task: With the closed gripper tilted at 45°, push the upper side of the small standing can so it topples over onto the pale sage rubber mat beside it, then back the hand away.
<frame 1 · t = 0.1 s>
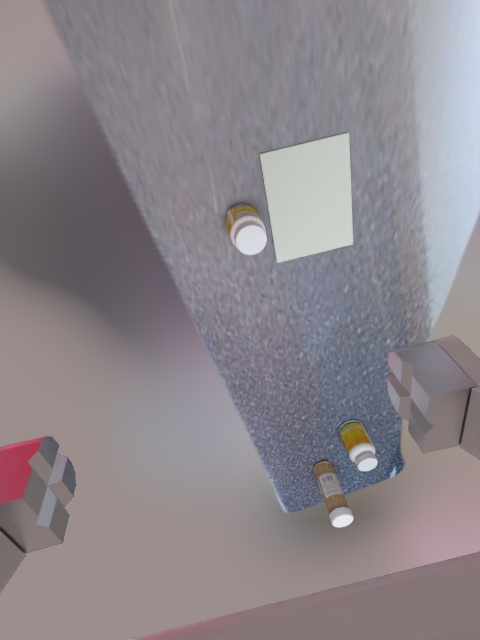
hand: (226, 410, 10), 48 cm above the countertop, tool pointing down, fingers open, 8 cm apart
sprinkles bottle: (321, 465, 92), on the countertop
supplement bottle: (241, 218, 57), on the countertop
supplement bottle 2: (349, 426, 86), on the countertop
rubber mat: (309, 201, 57), on the countertop
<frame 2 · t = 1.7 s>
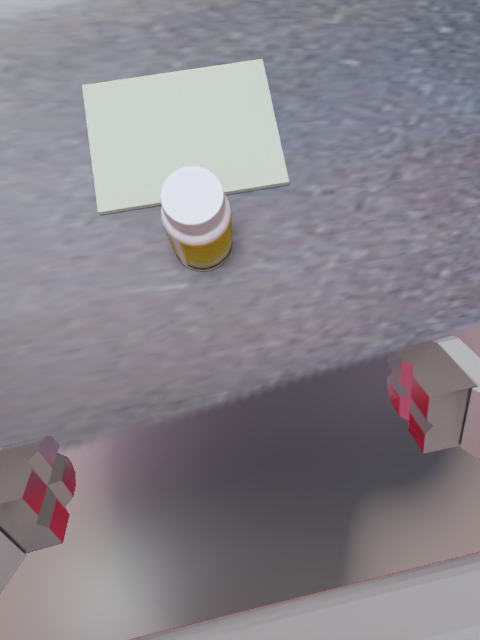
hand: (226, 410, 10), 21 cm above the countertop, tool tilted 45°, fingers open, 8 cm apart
supplement bottle: (203, 245, 33), on the countertop
rubber mat: (184, 136, 34), on the countertop
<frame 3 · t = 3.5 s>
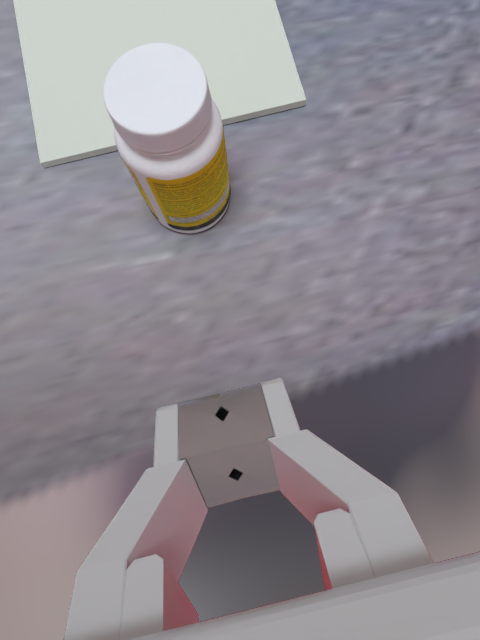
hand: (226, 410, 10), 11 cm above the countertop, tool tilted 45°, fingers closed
supplement bottle: (190, 198, 23), on the countertop
rubber mat: (155, 53, 25), on the countertop
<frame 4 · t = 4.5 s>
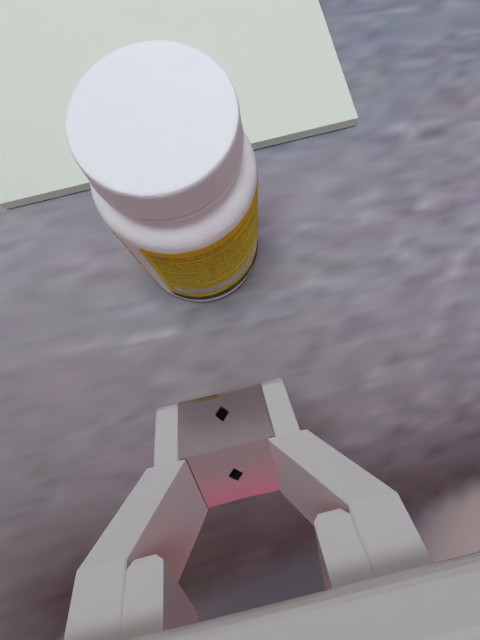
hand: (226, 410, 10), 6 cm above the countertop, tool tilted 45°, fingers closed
supplement bottle: (202, 251, 17), on the countertop
rubber mat: (155, 55, 19), on the countertop
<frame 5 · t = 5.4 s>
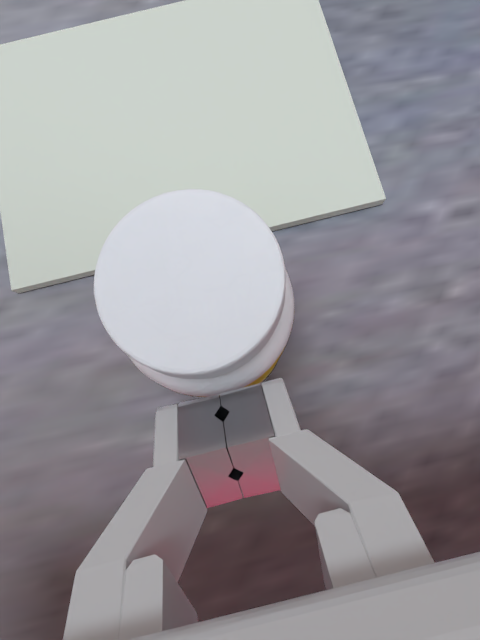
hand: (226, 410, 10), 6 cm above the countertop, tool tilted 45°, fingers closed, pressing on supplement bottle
supplement bottle: (222, 339, 16), on the countertop, touching gripper
rubber mat: (172, 127, 18), on the countertop
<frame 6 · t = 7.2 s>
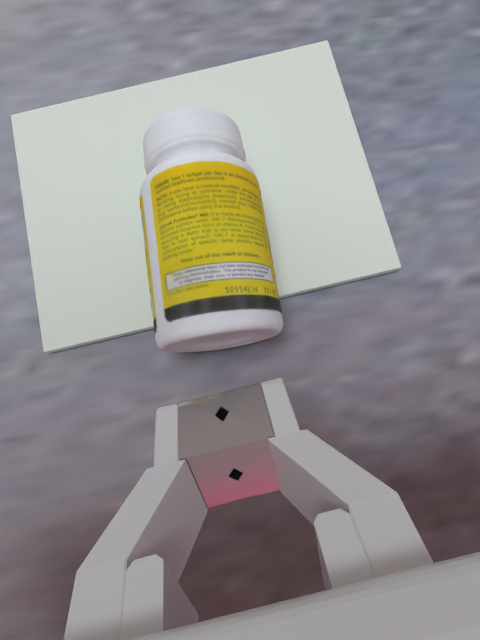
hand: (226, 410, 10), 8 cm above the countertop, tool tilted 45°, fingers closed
supplement bottle: (222, 348, 15), point 3 cm above the countertop, touching rubber mat
rubber mat: (195, 192, 19), on the countertop
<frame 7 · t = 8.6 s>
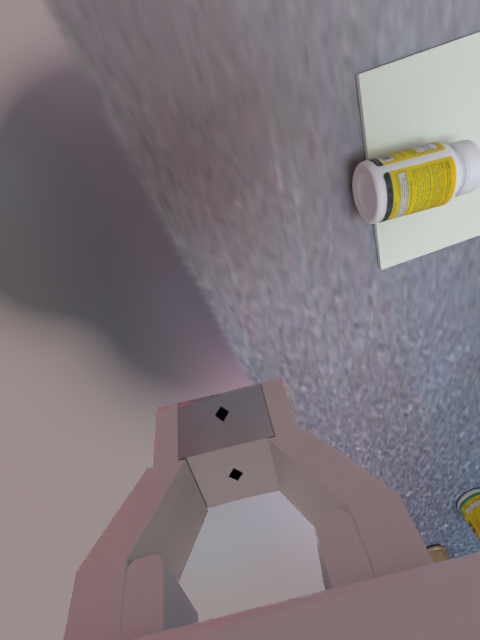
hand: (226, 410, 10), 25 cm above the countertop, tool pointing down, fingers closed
sprinkles bottle: (430, 551, 65), on the countertop
supplement bottle: (361, 194, 30), point 3 cm above the countertop, touching rubber mat
supplement bottle 2: (471, 497, 59), on the countertop
rubber mat: (436, 159, 33), on the countertop
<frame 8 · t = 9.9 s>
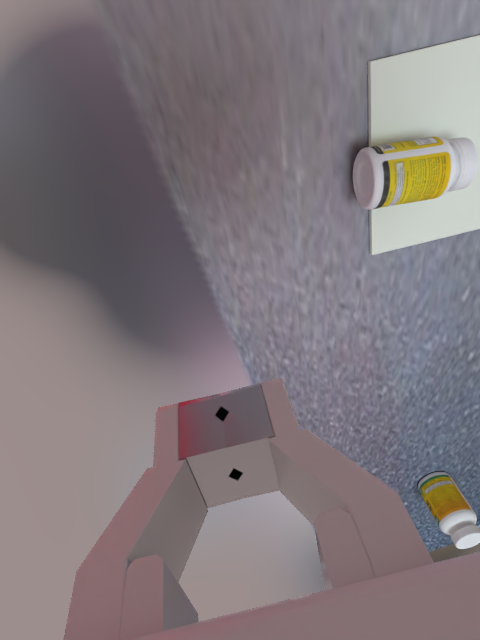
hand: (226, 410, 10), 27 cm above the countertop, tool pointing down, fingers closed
supplement bottle: (359, 180, 32), point 3 cm above the countertop, touching rubber mat
supplement bottle 2: (432, 479, 63), on the countertop
rubber mat: (435, 153, 34), on the countertop
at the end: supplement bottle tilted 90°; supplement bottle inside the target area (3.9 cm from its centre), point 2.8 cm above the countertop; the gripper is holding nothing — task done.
